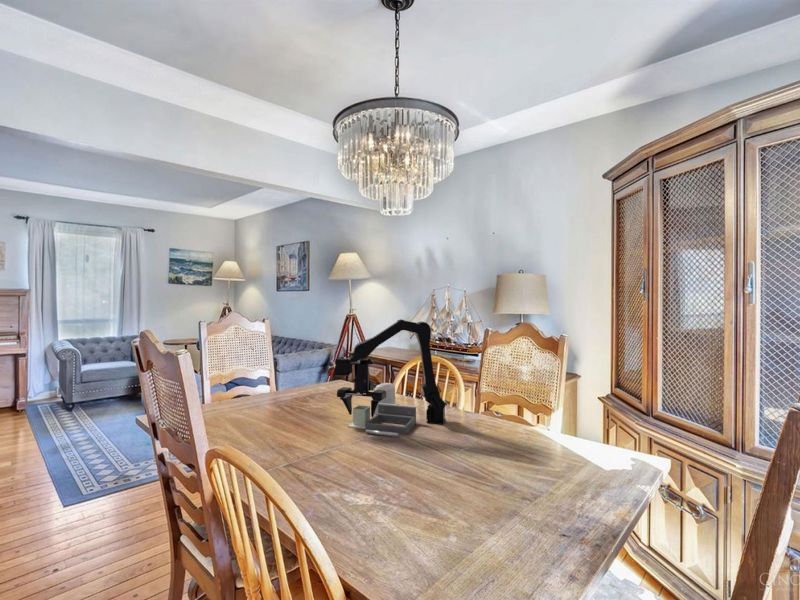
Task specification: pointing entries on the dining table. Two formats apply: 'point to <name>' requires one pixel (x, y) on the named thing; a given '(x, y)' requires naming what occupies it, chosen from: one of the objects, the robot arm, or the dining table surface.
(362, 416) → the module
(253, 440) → the dining table surface
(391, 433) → the rod
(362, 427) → the pad
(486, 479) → the dining table surface
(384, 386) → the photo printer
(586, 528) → the dining table surface
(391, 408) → the case lid open
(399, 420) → the case base
